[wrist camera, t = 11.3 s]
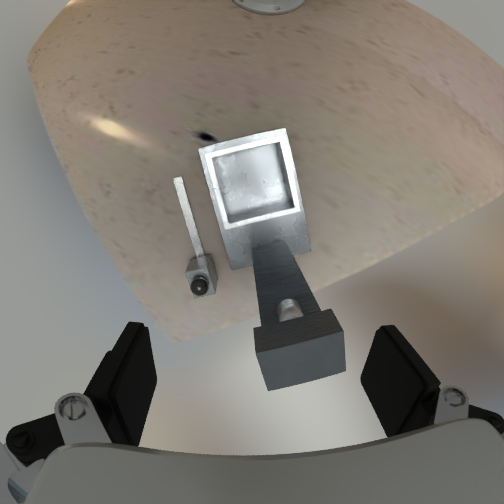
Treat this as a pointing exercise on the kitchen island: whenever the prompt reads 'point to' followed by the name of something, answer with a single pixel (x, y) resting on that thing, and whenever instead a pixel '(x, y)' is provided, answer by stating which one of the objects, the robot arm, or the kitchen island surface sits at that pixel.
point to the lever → (202, 276)
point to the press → (270, 254)
